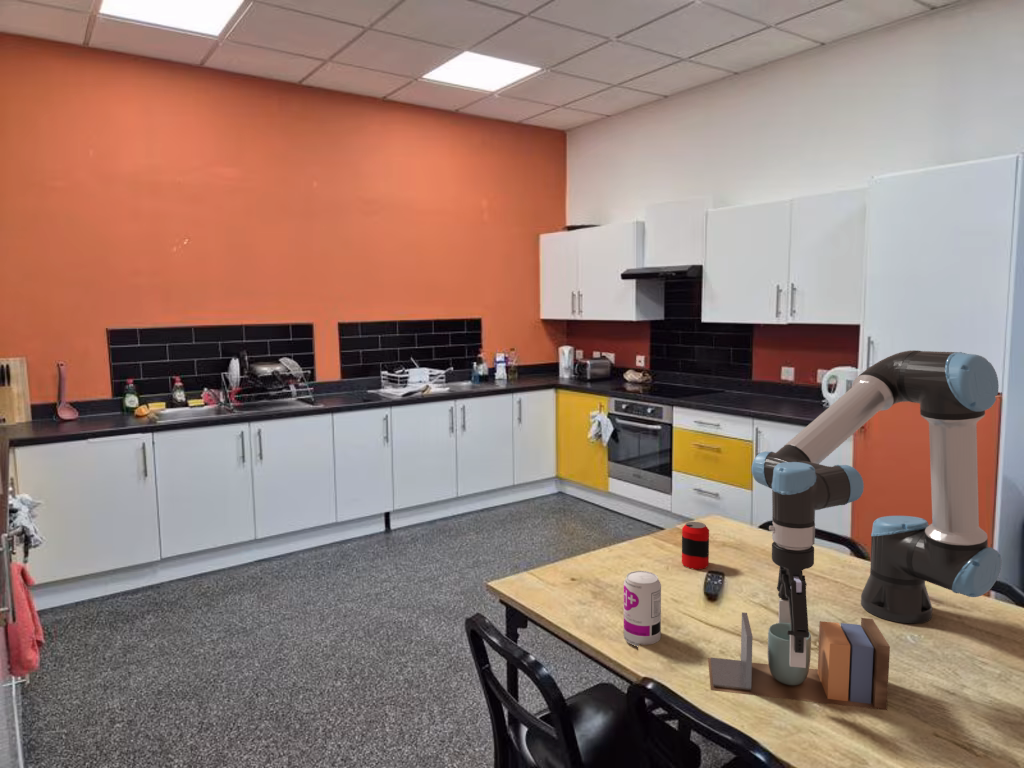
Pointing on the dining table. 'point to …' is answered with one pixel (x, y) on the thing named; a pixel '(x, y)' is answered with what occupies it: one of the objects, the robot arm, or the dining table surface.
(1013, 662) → the dining table surface
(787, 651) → the cup
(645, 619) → the supplement can
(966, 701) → the dining table surface
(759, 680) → the shelf
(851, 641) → the book navy
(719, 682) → the bookend
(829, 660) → the book terracotta
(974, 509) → the robot arm
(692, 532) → the soda can
